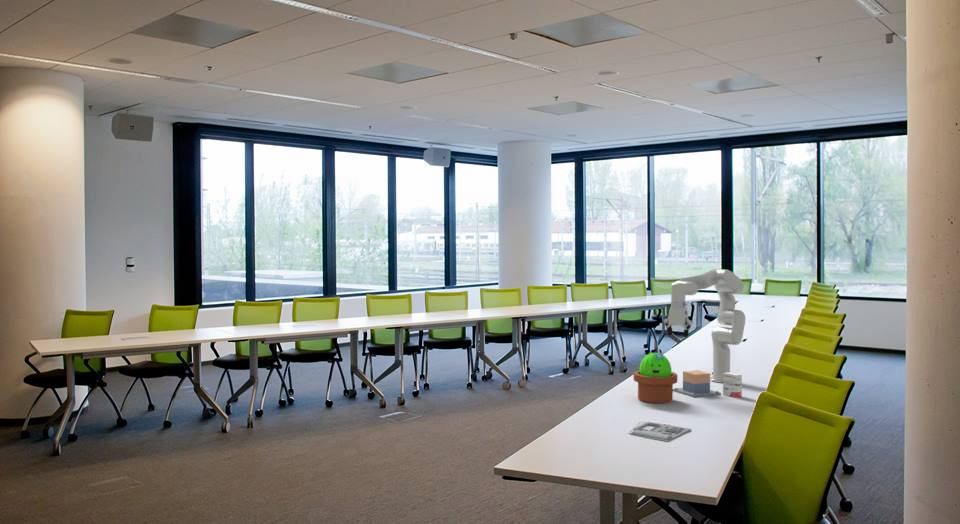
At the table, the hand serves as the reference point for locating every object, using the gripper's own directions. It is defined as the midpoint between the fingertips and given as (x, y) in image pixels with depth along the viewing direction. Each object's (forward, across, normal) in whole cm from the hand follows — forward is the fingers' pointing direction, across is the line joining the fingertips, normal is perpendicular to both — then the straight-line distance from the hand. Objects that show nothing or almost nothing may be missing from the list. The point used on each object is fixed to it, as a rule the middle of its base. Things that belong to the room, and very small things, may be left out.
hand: (677, 335), depth 403 cm
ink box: (+30, -29, -6) cm, 42 cm away
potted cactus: (+30, -5, +32) cm, 44 cm away
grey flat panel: (+30, -40, +87) cm, 100 cm away
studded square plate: (+30, -12, +1) cm, 32 cm away
